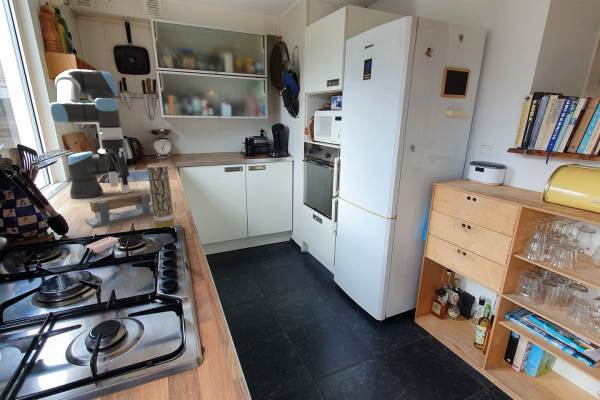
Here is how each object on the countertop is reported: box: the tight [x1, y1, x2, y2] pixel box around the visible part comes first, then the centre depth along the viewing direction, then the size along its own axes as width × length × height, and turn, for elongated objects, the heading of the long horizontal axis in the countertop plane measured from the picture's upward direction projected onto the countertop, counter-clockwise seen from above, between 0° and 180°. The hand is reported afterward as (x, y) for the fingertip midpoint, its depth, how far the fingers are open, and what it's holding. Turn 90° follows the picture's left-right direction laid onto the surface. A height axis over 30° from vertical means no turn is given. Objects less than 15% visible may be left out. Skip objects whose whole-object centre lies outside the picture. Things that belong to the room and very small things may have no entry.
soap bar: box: [84, 236, 120, 252], centre depth 101 cm, size 5×9×2 cm, turn 161°
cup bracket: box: [84, 191, 154, 229], centre depth 131 cm, size 10×26×9 cm, turn 137°
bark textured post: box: [146, 162, 175, 229], centre depth 116 cm, size 7×7×25 cm
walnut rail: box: [89, 191, 152, 214], centre depth 130 cm, size 4×22×4 cm, turn 137°
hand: (119, 189), depth 129 cm, fingers open, 13 cm apart
